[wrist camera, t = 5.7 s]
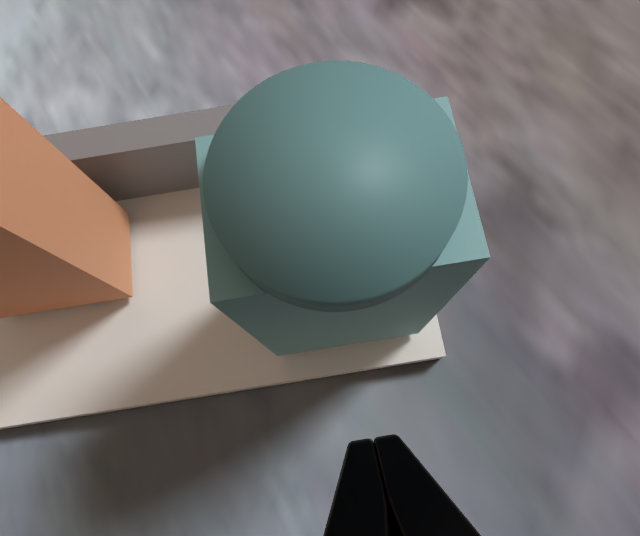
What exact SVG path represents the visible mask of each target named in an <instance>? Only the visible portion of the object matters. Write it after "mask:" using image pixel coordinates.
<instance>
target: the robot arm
mask: <svg viewBox="0 0 640 536" xmlns="http://www.w3.org/2000/svg"><path fill="white" fill-rule="evenodd" d="M324 536H481V535H480V534H479V533H478V532H477V530H476V529H475V528H474V527H473V526H472V524H471V523H470V522H469V521H468V519H467V518H466V517H465V516H464V515H463V513H462V512H461V511H460V510H459V509H458V507H457V506H456V505H455V504H454V503H453V501H452V500H451V499H450V498H449V496H448V495H447V494H446V493H445V492H444V490H443V489H442V488H441V487H440V486H439V484H438V483H437V482H436V481H435V480H434V478H433V477H432V476H431V475H430V473H429V472H428V471H427V470H426V469H425V467H424V466H423V465H422V464H421V463H420V461H419V460H418V459H417V458H416V457H415V455H414V454H413V453H412V452H411V450H410V449H409V448H408V447H407V446H406V444H405V443H404V442H403V441H402V440H401V438H400V437H399V436H397V435H387V436H381V437H376V438H375V439H374V443H373V441H372V440H371V439H362V440H356V441H351V442H350V443H349V444H348V447H347V450H346V454H345V458H344V461H343V465H342V469H341V472H340V476H339V480H338V484H337V487H336V491H335V495H334V498H333V502H332V506H331V510H330V513H329V517H328V521H327V524H326V528H325V532H324Z"/></svg>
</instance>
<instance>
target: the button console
mask: <svg viewBox="0 0 640 536" xmlns="http://www.w3.org/2000/svg"><path fill="white" fill-rule="evenodd" d="M234 105H235V104H234ZM234 105H228V106H222V107H216V108H210V109H204V110H198V111H192V112H185V113H179V114H173V115H167V116H161V117H155V118H149V119H143V120H137V121H131V122H124V123H118V124H112V125H106V126H100V127H94V128H88V129H82V130H76V131H70V132H63V133H57V134H51V135H45V136H44V137H45V138H46V139H47V140H48V141H49V142H50V143H51V144H53V145H54V146H55V147H56V148H57V149H58V150H59V151H60V152H61V153H62V154H64V155H65V156H66V157H67V158H68V159H69V160H70V161H71V162H72V163H73V164H75V165H76V166H77V167H78V168H79V169H80V170H81V171H82V172H83V173H84V174H86V175H87V176H88V177H89V178H90V179H91V180H92V181H93V182H94V183H95V184H97V185H98V186H99V187H100V188H101V189H102V190H103V191H104V192H105V193H107V194H108V195H109V196H110V197H111V198H112V199H113V200H114V201H115V202H116V203H118V204H119V205H120V206H121V207H122V208H123V209H124V210H125V211H126V212H127V213H129V225H130V247H131V269H132V291H133V297H129V298H123V299H117V300H111V301H105V302H98V303H92V304H86V305H80V306H74V307H68V308H61V309H55V310H49V311H43V312H37V313H30V314H24V315H18V316H12V317H6V318H0V429H6V428H12V427H18V426H24V425H31V424H37V423H43V422H49V421H56V420H62V419H68V418H74V417H80V416H87V415H93V414H99V413H105V412H112V411H118V410H124V409H130V408H136V407H143V406H149V405H155V404H161V403H168V402H174V401H180V400H186V399H192V398H199V397H205V396H211V395H217V394H224V393H230V392H236V391H242V390H248V389H255V388H261V387H267V386H273V385H279V384H286V383H292V382H298V381H304V380H311V379H317V378H323V377H329V376H335V375H342V374H348V373H354V372H360V371H367V370H373V369H379V368H385V367H391V366H398V365H404V364H410V363H416V362H423V361H429V360H435V359H441V358H443V357H445V356H446V354H445V350H444V345H443V341H442V337H441V332H440V328H439V323H438V319H437V314H436V315H435V316H434V317H433V318H432V320H431V321H430V322H429V323H428V324H427V325H426V326H425V327H424V328H423V329H422V330H421V331H420V332H419V333H417V334H411V335H405V336H399V337H393V338H386V339H380V340H374V341H368V342H362V343H355V344H349V345H343V346H337V347H331V348H324V349H318V350H312V351H306V352H299V353H293V354H287V355H281V356H277V355H275V354H274V353H273V352H272V351H270V350H269V349H268V348H266V347H265V346H264V345H263V344H261V343H260V342H259V341H258V340H256V339H255V338H254V337H253V336H251V335H250V334H249V333H248V332H246V331H245V330H244V329H243V328H241V327H240V326H239V325H238V324H236V323H235V322H234V321H233V320H231V319H230V318H229V317H227V316H226V315H225V314H224V313H222V312H221V311H220V310H219V309H217V308H216V307H215V306H214V305H212V304H211V303H210V298H209V287H208V276H207V265H206V254H205V243H204V232H203V221H202V210H201V199H200V188H199V177H198V167H197V156H196V145H195V138H196V137H202V136H208V135H214V134H215V132H216V130H217V129H218V127H219V125H220V123H221V122H222V120H223V119H224V117H225V116H226V115H227V113H228V112H229V111H230V109H231V108H232V107H233V106H234Z"/></svg>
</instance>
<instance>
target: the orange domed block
mask: <svg viewBox="0 0 640 536" xmlns="http://www.w3.org/2000/svg"><path fill="white" fill-rule="evenodd" d="M129 297H133V291H132V269H131V247H130V225H129V213H127V212H126V211H125V210H124V209H123V208H122V207H121V206H120V205H119V204H118V203H116V202H115V201H114V200H113V199H112V198H111V197H110V196H109V195H108V194H107V193H105V192H104V191H103V190H102V189H101V188H100V187H99V186H98V185H97V184H95V183H94V182H93V181H92V180H91V179H90V178H89V177H88V176H87V175H86V174H84V173H83V172H82V171H81V170H80V169H79V168H78V167H77V166H76V165H75V164H73V163H72V162H71V161H70V160H69V159H68V158H67V157H66V156H65V155H64V154H62V153H61V152H60V151H59V150H58V149H57V148H56V147H55V146H54V145H53V144H51V143H50V142H49V141H48V140H47V139H46V138H45V137H44V136H43V135H41V134H40V133H39V132H38V131H37V130H36V129H35V128H34V127H33V126H32V125H30V124H29V123H28V122H27V121H26V120H25V119H24V118H23V117H22V116H21V115H19V114H18V113H17V112H16V111H15V110H14V109H13V108H12V107H11V106H10V105H8V104H7V103H6V102H5V101H4V100H3V99H2V98H1V97H0V318H6V317H12V316H18V315H24V314H30V313H37V312H43V311H49V310H55V309H61V308H68V307H74V306H80V305H86V304H92V303H98V302H105V301H111V300H117V299H123V298H129Z"/></svg>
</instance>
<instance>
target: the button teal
mask: <svg viewBox="0 0 640 536" xmlns="http://www.w3.org/2000/svg"><path fill="white" fill-rule="evenodd" d="M195 145H196V156H197V167H198V177H199V188H200V199H201V210H202V221H203V232H204V243H205V254H206V265H207V276H208V287H209V298H210V303H211V304H212V305H214V306H215V307H216V308H217V309H219V310H220V311H221V312H222V313H224V314H225V315H226V316H227V317H229V318H230V319H231V320H233V321H234V322H235V323H236V324H238V325H239V326H240V327H241V328H243V329H244V330H245V331H246V332H248V333H249V334H250V335H251V336H253V337H254V338H255V339H256V340H258V341H259V342H260V343H261V344H263V345H264V346H265V347H266V348H268V349H269V350H270V351H272V352H273V353H274V354H275V355H277V356H281V355H287V354H293V353H299V352H306V351H312V350H318V349H324V348H331V347H337V346H343V345H349V344H355V343H362V342H368V341H374V340H380V339H386V338H393V337H399V336H405V335H411V334H417V333H419V332H420V331H421V330H422V329H423V328H424V327H425V326H426V325H427V324H428V323H429V322H430V321H431V320H432V318H433V317H434V316H435V315H436V314H437V313H438V312H439V311H440V310H441V309H442V308H443V307H444V306H445V305H446V304H447V303H448V302H449V300H450V299H451V298H452V297H453V296H454V295H455V294H456V293H457V292H458V291H459V290H460V289H461V288H462V287H463V286H464V285H465V284H466V282H467V281H468V280H469V279H470V278H471V277H472V276H473V275H474V274H475V273H476V272H477V271H478V270H479V269H480V268H481V267H482V266H483V264H484V263H485V262H486V261H487V260H488V259H489V258H490V254H489V250H488V247H487V243H486V239H485V235H484V231H483V228H482V224H481V220H480V216H479V213H478V209H477V205H476V201H475V198H474V194H473V190H472V186H471V183H470V179H469V175H468V171H467V163H466V158H465V153H464V149H463V146H462V143H461V140H460V137H459V135H458V133H457V130H456V126H455V122H454V119H453V115H452V111H451V107H450V103H449V100H448V96H447V97H441V98H435V99H433V98H432V97H431V96H430V95H429V94H428V93H426V92H425V91H424V90H423V89H422V88H421V87H419V86H418V85H416V84H414V83H413V82H411V81H410V80H408V79H407V78H405V77H403V76H401V75H399V74H397V73H395V72H392V71H390V70H387V69H384V68H381V67H378V66H374V65H370V64H366V63H360V62H352V61H324V62H315V63H310V64H305V65H301V66H297V67H294V68H291V69H288V70H285V71H283V72H280V73H278V74H276V75H274V76H272V77H270V78H268V79H266V80H265V81H263V82H262V83H260V84H258V85H257V86H255V87H254V88H253V89H251V90H250V91H249V92H248V93H246V94H245V95H244V96H243V97H242V98H241V99H240V100H239V101H238V102H237V103H236V104H235V105H234V106H233V107H232V108H231V109H230V111H229V112H228V113H227V115H226V116H225V117H224V119H223V120H222V122H221V123H220V125H219V127H218V129H217V130H216V132H215V134H214V135H208V136H202V137H196V138H195Z"/></svg>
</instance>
